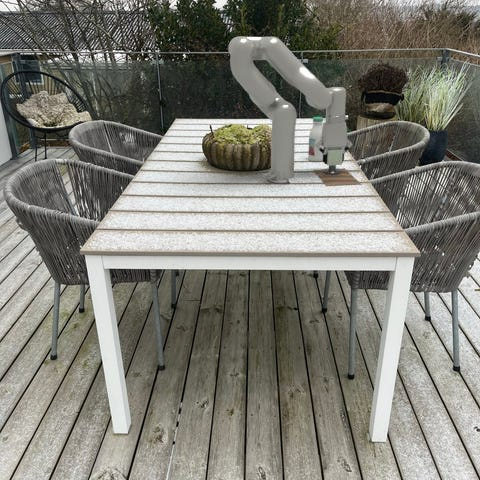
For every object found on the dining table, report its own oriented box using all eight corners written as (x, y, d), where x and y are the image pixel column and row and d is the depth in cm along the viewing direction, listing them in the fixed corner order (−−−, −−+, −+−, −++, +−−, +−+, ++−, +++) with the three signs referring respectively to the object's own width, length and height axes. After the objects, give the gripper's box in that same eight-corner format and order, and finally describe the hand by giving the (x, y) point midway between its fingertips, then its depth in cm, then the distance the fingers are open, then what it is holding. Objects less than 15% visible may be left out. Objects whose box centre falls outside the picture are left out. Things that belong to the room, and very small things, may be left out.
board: (361, 188, 182) (363, 161, 178) (326, 189, 182) (327, 163, 177) (344, 171, 204) (345, 147, 200) (312, 173, 204) (313, 149, 199)
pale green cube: (342, 164, 194) (342, 150, 192) (327, 165, 194) (328, 151, 192) (338, 161, 200) (338, 147, 197) (324, 161, 199) (324, 147, 197)
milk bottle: (324, 157, 228) (325, 115, 220) (325, 161, 221) (327, 118, 213) (308, 157, 229) (309, 116, 221) (308, 161, 222) (309, 118, 214)
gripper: (353, 116, 193) (350, 159, 201) (311, 118, 193) (310, 161, 200) (358, 119, 187) (356, 164, 194) (316, 122, 186) (314, 166, 193)
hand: (333, 162), depth 197 cm, fingers closed on pale green cube, 6 cm apart
